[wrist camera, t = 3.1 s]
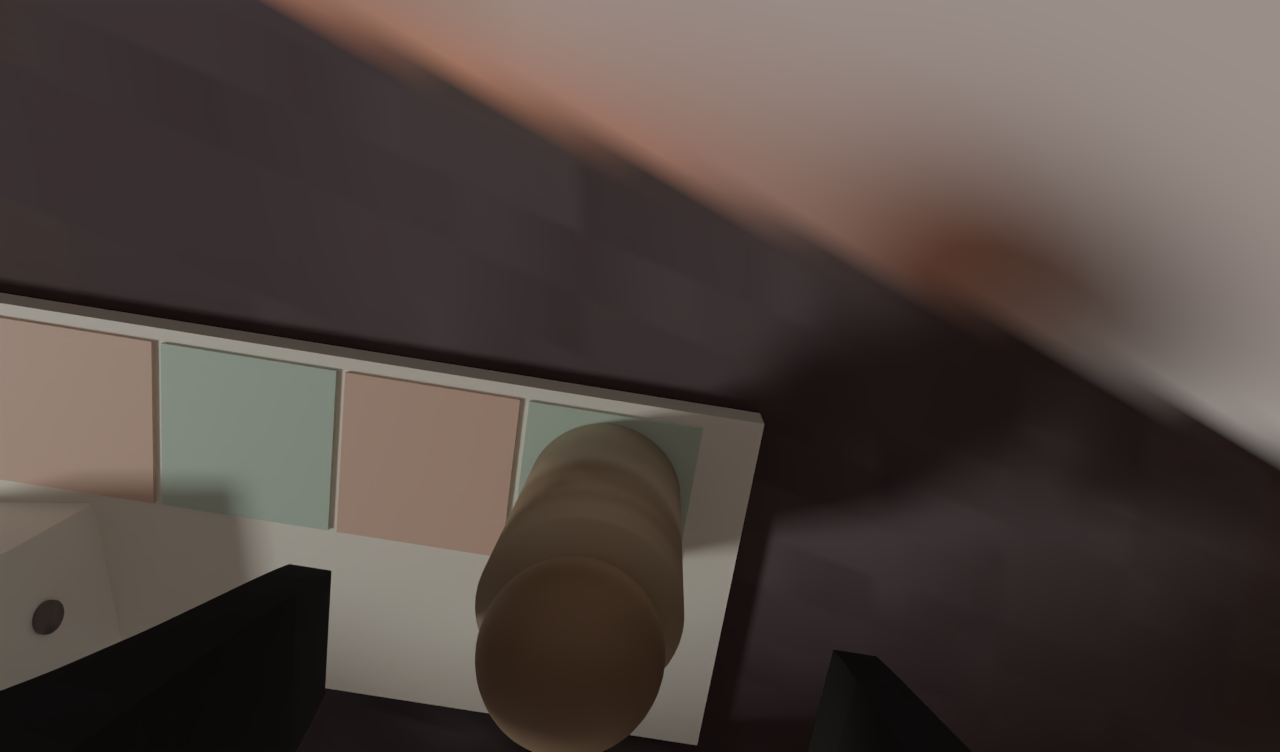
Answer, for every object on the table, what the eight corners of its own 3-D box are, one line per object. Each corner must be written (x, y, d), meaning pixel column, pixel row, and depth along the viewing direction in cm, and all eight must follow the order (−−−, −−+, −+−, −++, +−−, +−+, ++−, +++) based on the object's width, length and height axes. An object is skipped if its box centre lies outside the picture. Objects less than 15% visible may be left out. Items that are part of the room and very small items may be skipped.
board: (695, 722, 19) (697, 748, 18) (-29, 610, 19) (-63, 631, 18) (759, 412, 17) (765, 425, 16) (-57, 283, 16) (-97, 289, 16)
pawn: (666, 576, 17) (664, 843, 10) (519, 551, 17) (418, 802, 10) (692, 437, 16) (710, 627, 9) (537, 411, 16) (439, 584, 9)
